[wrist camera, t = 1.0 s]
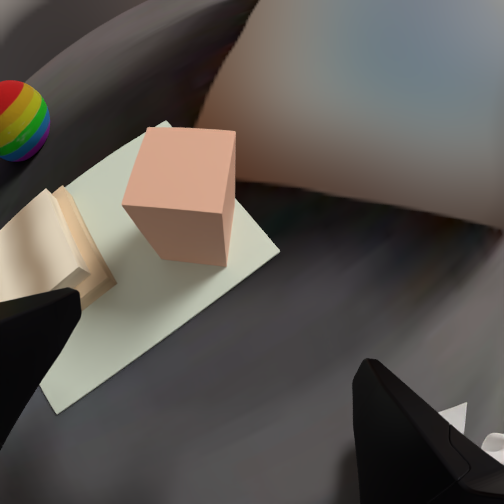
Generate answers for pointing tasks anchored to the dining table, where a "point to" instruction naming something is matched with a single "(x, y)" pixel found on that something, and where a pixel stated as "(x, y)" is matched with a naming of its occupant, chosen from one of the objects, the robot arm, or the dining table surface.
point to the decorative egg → (21, 121)
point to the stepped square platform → (51, 251)
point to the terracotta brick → (184, 193)
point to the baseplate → (138, 283)
